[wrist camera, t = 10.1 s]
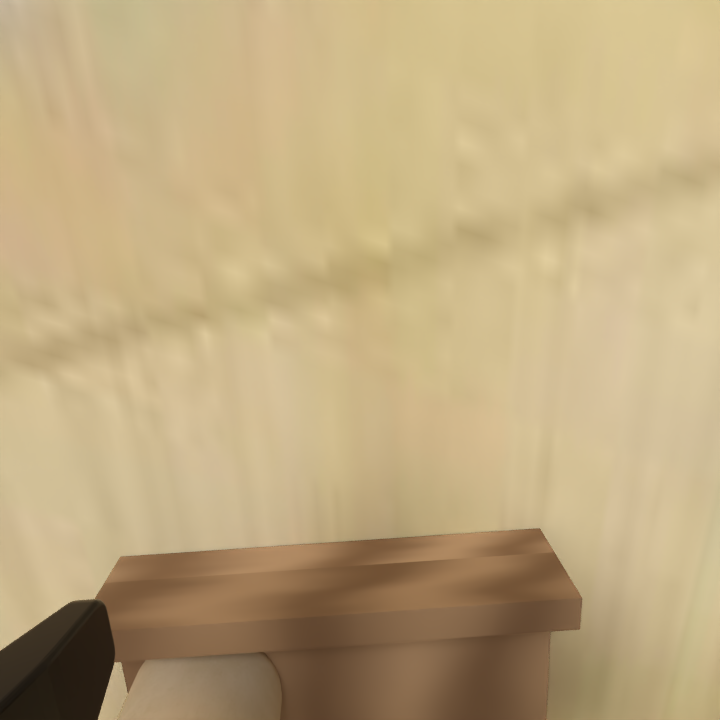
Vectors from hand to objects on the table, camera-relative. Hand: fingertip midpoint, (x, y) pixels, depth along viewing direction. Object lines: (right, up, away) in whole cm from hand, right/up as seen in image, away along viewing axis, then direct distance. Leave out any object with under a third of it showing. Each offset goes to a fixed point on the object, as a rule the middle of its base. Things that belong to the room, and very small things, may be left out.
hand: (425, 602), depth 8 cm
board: (-2, -8, +15) cm, 17 cm away
